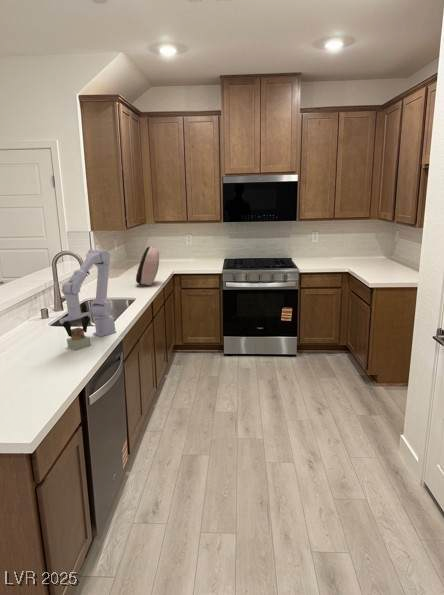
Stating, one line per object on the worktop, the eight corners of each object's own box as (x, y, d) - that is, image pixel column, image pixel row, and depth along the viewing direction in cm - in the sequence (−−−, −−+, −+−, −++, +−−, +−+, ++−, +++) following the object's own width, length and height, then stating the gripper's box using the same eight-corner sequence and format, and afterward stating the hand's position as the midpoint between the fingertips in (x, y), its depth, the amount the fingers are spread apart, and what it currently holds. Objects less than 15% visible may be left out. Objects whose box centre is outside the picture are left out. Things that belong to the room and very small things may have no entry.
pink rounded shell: (138, 282, 337) (134, 245, 329) (162, 280, 339) (158, 244, 331) (135, 288, 316) (131, 249, 308) (161, 286, 318) (157, 247, 310)
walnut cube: (80, 335, 202) (79, 327, 201) (84, 337, 199) (83, 329, 198) (71, 338, 199) (70, 329, 198) (75, 340, 196) (74, 331, 195)
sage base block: (83, 341, 205) (82, 334, 204) (91, 345, 200) (89, 337, 199) (67, 346, 200) (66, 338, 199) (75, 350, 194) (74, 342, 193)
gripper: (83, 302, 202) (87, 328, 206) (55, 309, 192) (59, 336, 196) (90, 304, 197) (94, 331, 201) (61, 311, 188) (66, 339, 191)
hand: (77, 334), depth 198 cm, fingers open, 7 cm apart
